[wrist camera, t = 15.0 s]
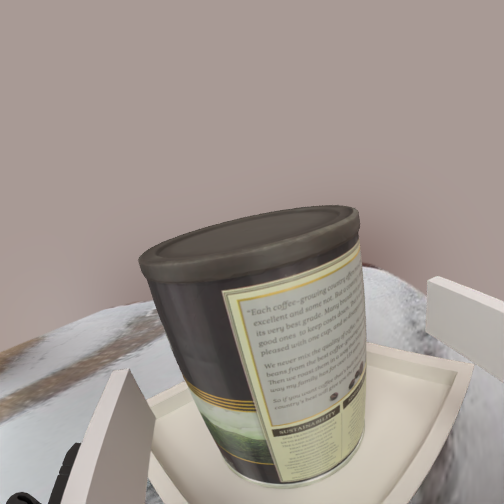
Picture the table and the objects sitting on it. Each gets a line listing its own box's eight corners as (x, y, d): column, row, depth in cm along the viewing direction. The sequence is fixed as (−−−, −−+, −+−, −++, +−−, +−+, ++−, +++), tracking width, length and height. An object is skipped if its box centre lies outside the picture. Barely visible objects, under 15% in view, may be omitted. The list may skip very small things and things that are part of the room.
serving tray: (128, 433, 18) (115, 413, 18) (291, 339, 30) (287, 320, 29) (287, 613, 2) (279, 616, 2) (467, 387, 14) (474, 364, 14)
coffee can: (200, 484, 12) (89, 276, 9) (236, 388, 22) (190, 228, 19) (374, 482, 10) (389, 223, 7) (357, 376, 20) (340, 199, 17)
